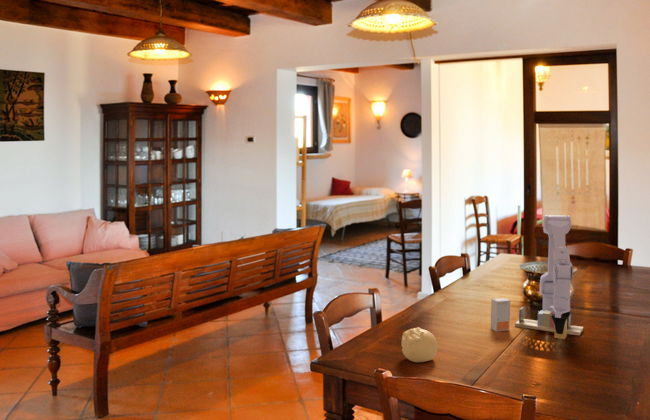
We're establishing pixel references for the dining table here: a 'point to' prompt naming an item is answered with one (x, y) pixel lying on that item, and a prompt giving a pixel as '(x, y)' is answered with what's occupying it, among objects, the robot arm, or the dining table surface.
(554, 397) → the dining table surface
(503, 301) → the skincare box
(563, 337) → the tan rectangular block
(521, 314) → the bookends
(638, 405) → the dining table surface
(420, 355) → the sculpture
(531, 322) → the shelf board
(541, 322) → the books
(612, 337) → the dining table surface
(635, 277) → the dining table surface
